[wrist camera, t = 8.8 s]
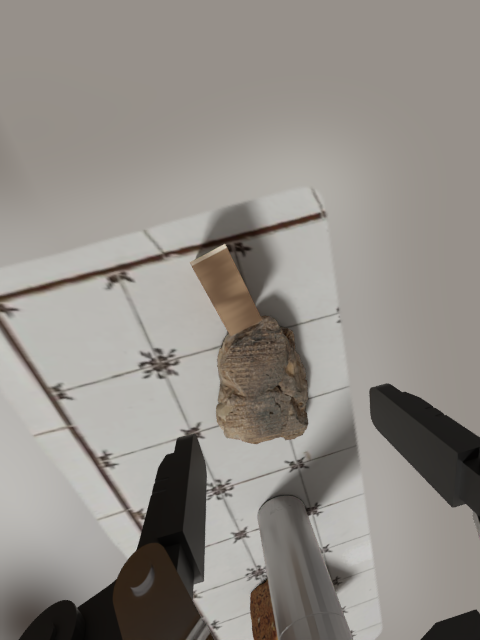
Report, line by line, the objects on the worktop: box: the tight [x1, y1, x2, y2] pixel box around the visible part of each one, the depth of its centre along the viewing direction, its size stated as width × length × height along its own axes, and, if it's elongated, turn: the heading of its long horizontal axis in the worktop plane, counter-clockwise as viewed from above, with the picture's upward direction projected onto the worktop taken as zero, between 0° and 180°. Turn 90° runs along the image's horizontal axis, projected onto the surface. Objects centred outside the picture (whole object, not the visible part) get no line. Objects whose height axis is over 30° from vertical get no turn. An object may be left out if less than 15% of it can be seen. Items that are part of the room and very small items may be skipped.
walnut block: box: [190, 244, 262, 336], centre depth 26 cm, size 4×6×9 cm
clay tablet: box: [216, 316, 308, 444], centre depth 32 cm, size 14×5×20 cm
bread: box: [250, 579, 278, 640], centre depth 45 cm, size 19×11×10 cm, turn 49°
